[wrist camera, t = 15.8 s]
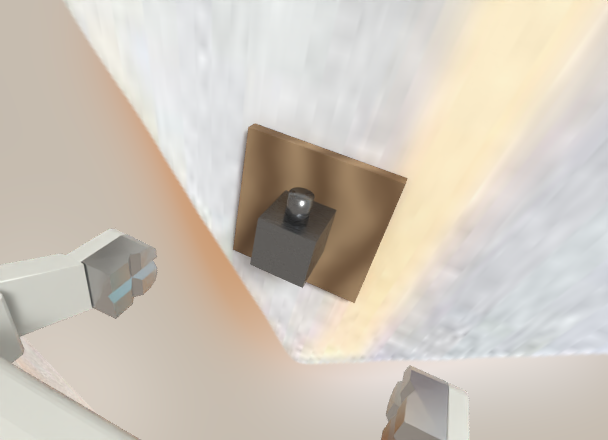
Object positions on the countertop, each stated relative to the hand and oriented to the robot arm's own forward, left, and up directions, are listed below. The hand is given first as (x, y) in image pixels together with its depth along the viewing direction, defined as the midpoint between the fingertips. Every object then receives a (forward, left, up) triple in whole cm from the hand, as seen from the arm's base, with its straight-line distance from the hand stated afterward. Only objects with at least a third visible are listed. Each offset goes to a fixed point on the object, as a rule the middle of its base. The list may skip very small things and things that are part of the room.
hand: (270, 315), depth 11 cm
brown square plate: (-6, -16, -29) cm, 34 cm away
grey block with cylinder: (-6, -14, -28) cm, 32 cm away
